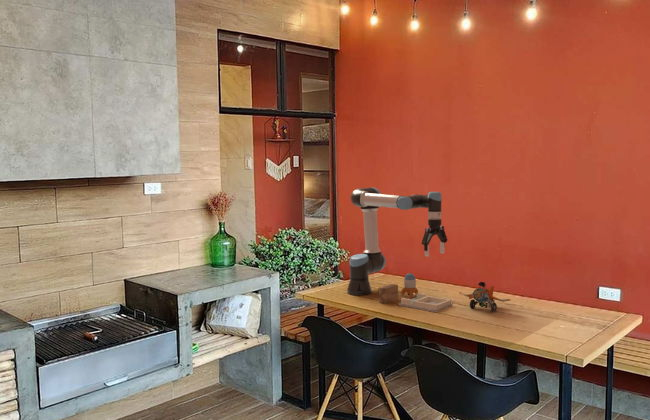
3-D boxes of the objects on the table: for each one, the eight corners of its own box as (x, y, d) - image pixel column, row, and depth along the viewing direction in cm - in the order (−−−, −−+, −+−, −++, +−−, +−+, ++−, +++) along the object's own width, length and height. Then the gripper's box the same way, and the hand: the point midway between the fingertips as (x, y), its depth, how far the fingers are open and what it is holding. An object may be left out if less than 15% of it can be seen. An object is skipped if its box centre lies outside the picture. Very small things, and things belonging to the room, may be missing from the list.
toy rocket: (417, 295, 357) (421, 273, 353) (418, 303, 347) (422, 279, 342) (400, 293, 357) (404, 270, 353) (401, 300, 347) (404, 277, 343)
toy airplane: (448, 304, 317) (452, 277, 320) (466, 308, 335) (469, 282, 337) (501, 312, 299) (504, 283, 301) (516, 316, 317) (519, 288, 319)
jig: (398, 305, 332) (398, 298, 332) (416, 299, 345) (416, 292, 345) (435, 312, 316) (435, 305, 315) (452, 305, 329) (452, 298, 328)
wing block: (378, 302, 339) (378, 287, 338) (391, 298, 348) (391, 283, 347) (385, 304, 336) (385, 288, 335) (398, 299, 344) (397, 284, 344)
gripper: (425, 221, 327) (425, 258, 329) (453, 217, 343) (453, 253, 345) (415, 220, 333) (415, 256, 335) (443, 216, 348) (443, 251, 350)
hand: (434, 255), depth 340 cm, fingers open, 13 cm apart
